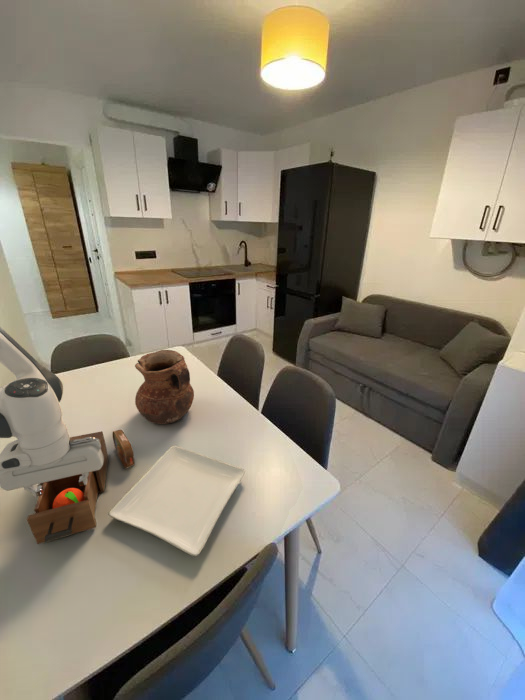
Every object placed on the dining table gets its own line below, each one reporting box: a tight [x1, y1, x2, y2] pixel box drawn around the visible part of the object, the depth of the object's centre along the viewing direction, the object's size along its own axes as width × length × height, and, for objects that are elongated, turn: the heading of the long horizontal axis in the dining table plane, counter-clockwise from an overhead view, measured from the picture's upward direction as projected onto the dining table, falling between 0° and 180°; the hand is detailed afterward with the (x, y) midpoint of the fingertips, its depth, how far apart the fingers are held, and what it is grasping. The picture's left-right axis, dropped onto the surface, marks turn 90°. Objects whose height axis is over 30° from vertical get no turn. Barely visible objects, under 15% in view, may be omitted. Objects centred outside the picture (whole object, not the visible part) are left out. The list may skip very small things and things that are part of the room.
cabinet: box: [39, 430, 109, 494], centre depth 85 cm, size 15×14×11 cm
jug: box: [134, 349, 195, 425], centre depth 113 cm, size 22×21×25 cm
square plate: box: [107, 445, 246, 557], centre depth 82 cm, size 27×27×4 cm
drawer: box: [26, 471, 99, 545], centre depth 73 cm, size 18×12×9 cm
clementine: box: [52, 488, 85, 509], centre depth 74 cm, size 8×7×7 cm
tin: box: [111, 429, 136, 469], centre depth 94 cm, size 15×3×8 cm, turn 40°
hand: (62, 488), depth 71 cm, fingers open, 8 cm apart
